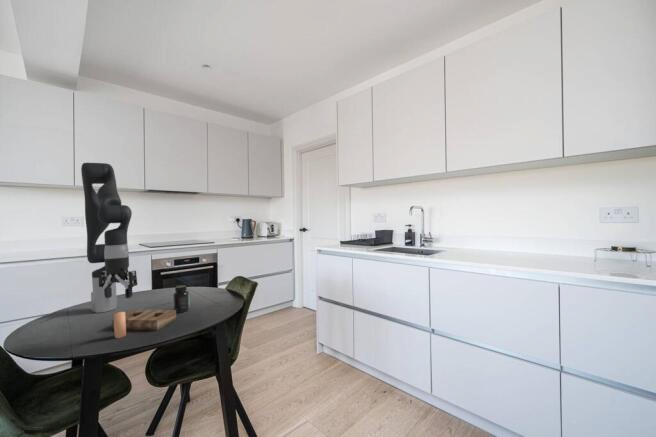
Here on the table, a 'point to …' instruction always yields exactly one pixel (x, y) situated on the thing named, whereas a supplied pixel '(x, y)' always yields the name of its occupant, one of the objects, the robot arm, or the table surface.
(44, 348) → the table surface
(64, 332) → the table surface
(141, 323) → the wooden block with holes
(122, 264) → the robot arm
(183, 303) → the supplement bottle
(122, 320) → the orange tall block
